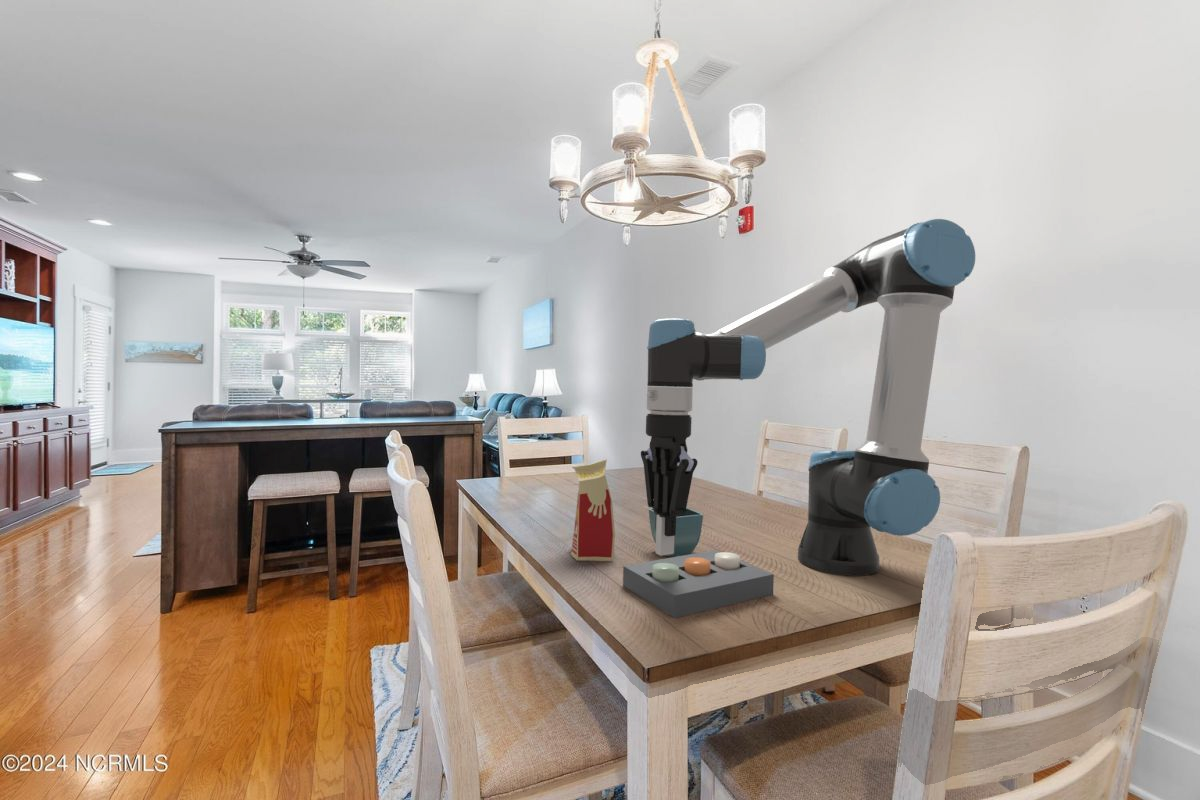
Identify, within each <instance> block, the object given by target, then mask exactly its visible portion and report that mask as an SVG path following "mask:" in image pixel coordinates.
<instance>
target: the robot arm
mask: <svg viewBox="0 0 1200 800" xmlns="http://www.w3.org/2000/svg"><path fill="white" fill-rule="evenodd" d="M975 250H976V249H975V245H974V242H973V240H972V239H971V236H970V235H967V234H966V230H965V229H964V228H963V227H962V226H960V225H959V224H958V223H956V222H954V221H951V220H948V219H943V218H935V219H934V218H933V219H929V220H926V221H923V222H917V223H913V224H912V225H910V226H909V227H907V228H904V229H902V230H900V231H897V232H895V233H892V234H890V235H888V236H885V237H882V238H879V239H877V240H875V241H873V242H871V243H869V244H868V245H866V246H864V247H863V248H860V249H859V250H858V251H856V252H855V253H854V254H852V255H851V256H849V257H847V258H846V259H844V260H842V261H840V262H838V263H837V264H835V265H833V266H832V267H829V268H827V269H826V270H825V271H824V273H823V276H822V277H821V278H819V279H817V280H815V281H813V282H811V283H808V284H807V285H805V286H802V287H801V288H799V289H796V290H795V291H793V292H791V293H789V294H787V295H785V296H783V297H781V298H779V299H778V300H775V301H773V302H771V303H769V304H767V305H765V306H763V307H761V308H759V309H758V310H756V311H753V312H751V313H750V314H748V315H746V316H743V317H741V318H740V319H738V320H736V321H734V322H731V323H730V324H728V325H726V326H724V327H722V328H720V329H718V330H717V331H715V332H712V333H704V332H703V333H701V332H696V329H695V323H694V321H692V320H691V319H686V318H685V319H684V318H660V319H656V320H654V321H652V322H651V324H650V326H649V331H648V343H647V347H646V348H647V383H646V384H647V393H646V410H647V411H650V412H649V413H646V414H647V415H646V416H645V434H646V436H648V437H651V438H650V441H649V447H648V448H647V449H646V450H641V451H640V457H641V461H642V464H643V471H644V482H645V489H646V500H647V506H648V508H653V509H654V513H656V523H655V529H656V543H655V554H656V555H658V556H660V557H661V556H668V555H669V554H674V536H675V534H676V517H677V515H681V514H685V512H686V507H687V506H688V501H689V495H690V490H691V484H692V480H693V475H694V472H695V470H696V468H697V466H698V460H697V459H696V458H691V456H690V455H689V454H688V446H687V439H688V438H690V437H691V435H692V416H691V414H689V413H690V412H692V411H693V390H694V389H693V388H694V387H693V386H694V384H693V380H696V381H704V380H739V381H743V380H756V379H757V378H759V377H760V376H761V375H762V373H763V372H764V369H765V366H766V361H767V351H766V350H767V349H769V348H771V347H773V346H775V345H777V344H779V343H781V342H783V341H784V340H787V339H788V338H790V337H793V336H794V335H797V334H798V333H801V332H802V331H804V330H806V329H808V328H810V327H812V326H814V325H816V324H818V323H820V322H822V321H824V320H826V319H827V318H830V317H831V316H833V315H834V316H835V314H838V313H840V312H841V313H851V312H853V311H855V310H857V309H858V308H861V307H863V306H867V305H869V304H874V303H878V304H879V305H880V306H881V307H882V308H883V310H884V316H883V321H882V327H881V328H882V330H881V336H880V343H879V349H878V356H877V357H878V358H877V365H876V369H875V370H876V371H875V377H874V382H873V383H874V384H873V390H872V391H873V392H872V398H871V405H870V411H869V418H868V424H867V425H868V426H867V431H866V438H865V442H863V443H862V444H861V445H859V446H858V447H856V448H855V450H815V451H814V452H812V453H811V454H810V456H809V463H808V464H809V465H808V504H807V505H808V507H807V508H808V509H807V517H808V518H807V523H806V526H805V528H804V529H805V530H804V532H803V534H802V537H801V540H800V543H799V545H798V548H797V559H798V562H800V563H801V564H802V565H805V566H807V567H809V568H812V569H814V570H817V571H821V572H825V573H830V574H835V575H844V576H869V575H870V576H871V575H873V574H876V573H878V572H879V571H880V560H881V559H880V555H879V553H878V550H877V545H876V543H875V539H874V536H873V534H872V529H874V530H876V531H877V532H881V533H886V534H889V535H893V536H900V537H901V536H904V537H905V536H910V535H914V534H917V533H918V532H920V531H922V529H923V528H925V527H927V526H929V525H930V523H932V521H933V520H934V518H935V517H936V516H937V513H938V511H939V508H940V504H941V491H940V488H939V486H938V485H936V481H935V480H934V478H933V477H932V476H931V475H930V474H928V473H929V472H928V471H929V466H930V459H929V458H928V457H927V455H926V454H925V453H924V452H923V450H922V443H923V442H922V441H923V437H924V436H923V433H924V427H925V423H926V421H925V420H926V414H927V407H928V400H929V393H930V387H931V379H932V373H933V365H934V359H935V354H936V346H937V340H938V332H939V327H940V319H941V314H942V312H943V311H945V309H947V308H948V307H950V306H951V305H952V304H953V302H954V301H953V300H954V293H955V287H957V286H958V285H959V284H961V283H962V282H964V281H965V280H966V279H967V278H968V277H970V275H971V274H972V272H973V270H974V267H975V264H976V251H975ZM687 508H688V507H687Z"/></svg>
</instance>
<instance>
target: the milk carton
mask: <svg viewBox="0 0 1200 800" xmlns="http://www.w3.org/2000/svg"><path fill="white" fill-rule="evenodd" d="M606 468H607V458H605V459H602V460H600V461H596V462H593V463H590V464H584V465H576V466H575V465H574V466H572V469H573V470H574V471H575V474H576V476H577V478H578V480H579V481H578V490H577V491H578V492H577V500H576V511H575V518H574V519H575V520H574V527H573V534H572V535H573V536H572V537H573V538H572V544H571V552H570V555H571V556H572V558H574V559H575V560H576V561H586V562H587V561H599V562H614V558H615V557H614V555H615V554H614V553H615V541H616V529H615V518H614V517H615V516H614V508H613V506H614V505H613V499H612V496H611V492H610V489H609V485H608V481H607V477H606Z"/></svg>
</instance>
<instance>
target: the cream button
mask: <svg viewBox="0 0 1200 800" xmlns="http://www.w3.org/2000/svg"><path fill="white" fill-rule="evenodd" d="M719 552H720V553H716V554H715V566H717V567H719V568H721V569H723V570H726V571H727V570H732V569H737V568H740V561H741V557H740V555H739V554H736V553H734V552H729V551H728V552H726V551H725V552H721V551H719Z"/></svg>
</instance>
